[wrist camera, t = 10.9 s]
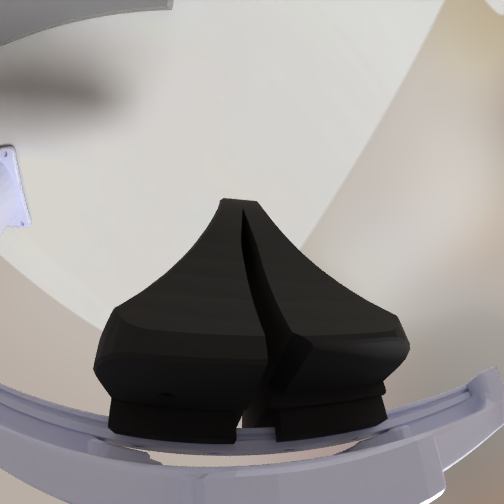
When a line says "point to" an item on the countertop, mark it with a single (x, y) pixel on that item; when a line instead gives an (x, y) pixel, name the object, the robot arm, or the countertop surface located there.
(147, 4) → the collar board
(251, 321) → the robot arm
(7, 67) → the countertop surface
